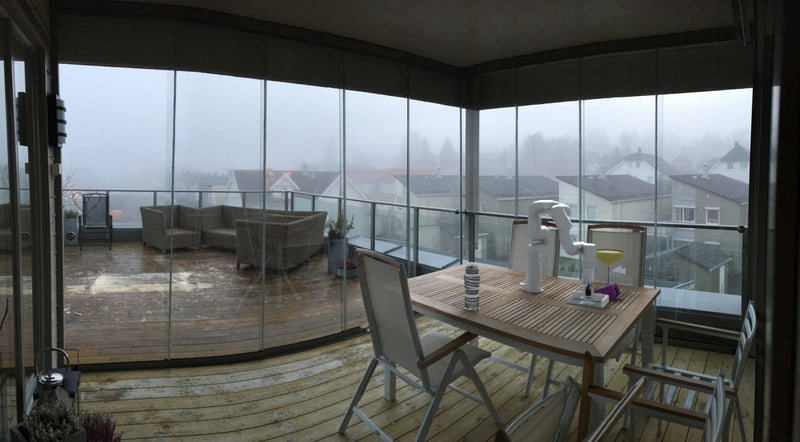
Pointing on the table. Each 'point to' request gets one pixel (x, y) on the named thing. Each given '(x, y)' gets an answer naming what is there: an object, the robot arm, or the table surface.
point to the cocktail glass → (609, 257)
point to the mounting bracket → (609, 291)
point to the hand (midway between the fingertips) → (588, 295)
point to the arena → (597, 302)
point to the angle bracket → (588, 296)
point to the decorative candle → (471, 286)
